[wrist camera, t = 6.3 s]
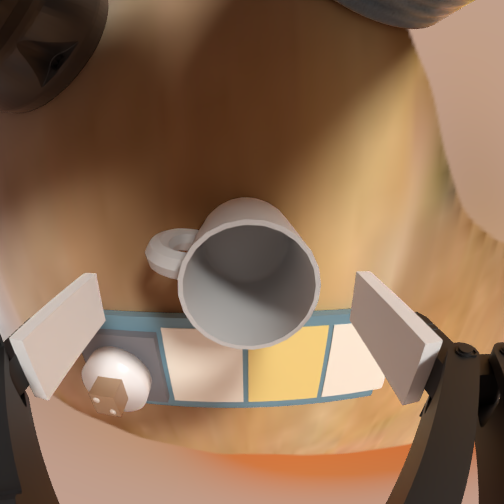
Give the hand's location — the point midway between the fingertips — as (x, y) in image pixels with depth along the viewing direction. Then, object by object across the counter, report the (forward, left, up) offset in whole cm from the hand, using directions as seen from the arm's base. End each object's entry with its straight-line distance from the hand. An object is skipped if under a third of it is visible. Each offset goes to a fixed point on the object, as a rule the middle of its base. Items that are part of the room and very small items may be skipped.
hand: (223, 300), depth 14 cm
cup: (0, 0, -10) cm, 10 cm away
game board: (+12, 0, -10) cm, 15 cm away
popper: (+12, -11, -7) cm, 17 cm away
